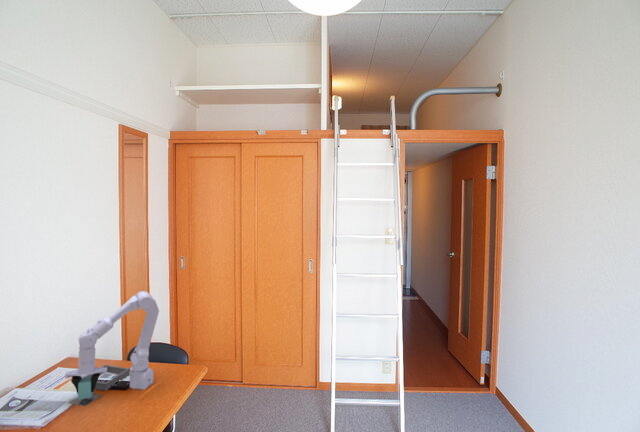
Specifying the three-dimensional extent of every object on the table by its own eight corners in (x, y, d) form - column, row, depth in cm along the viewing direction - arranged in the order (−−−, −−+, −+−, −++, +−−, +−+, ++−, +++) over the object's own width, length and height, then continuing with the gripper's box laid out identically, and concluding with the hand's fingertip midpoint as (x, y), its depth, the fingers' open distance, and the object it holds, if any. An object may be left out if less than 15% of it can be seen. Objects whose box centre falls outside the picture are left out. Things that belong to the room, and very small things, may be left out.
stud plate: (101, 397, 138) (102, 387, 138) (85, 408, 130) (85, 398, 130) (86, 394, 139) (86, 384, 139) (68, 405, 131) (69, 395, 131)
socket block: (93, 391, 137) (94, 376, 137) (90, 397, 133) (90, 381, 133) (81, 393, 136) (82, 377, 136) (77, 399, 132) (78, 383, 132)
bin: (129, 376, 155) (129, 368, 155) (105, 392, 141) (105, 384, 141) (105, 372, 157) (105, 364, 157) (79, 388, 143) (79, 379, 143)
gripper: (62, 367, 128) (61, 399, 128) (104, 362, 133) (103, 394, 133) (69, 359, 135) (68, 390, 135) (108, 355, 139) (108, 385, 140)
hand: (86, 391), depth 135 cm, fingers closed on socket block, 4 cm apart
